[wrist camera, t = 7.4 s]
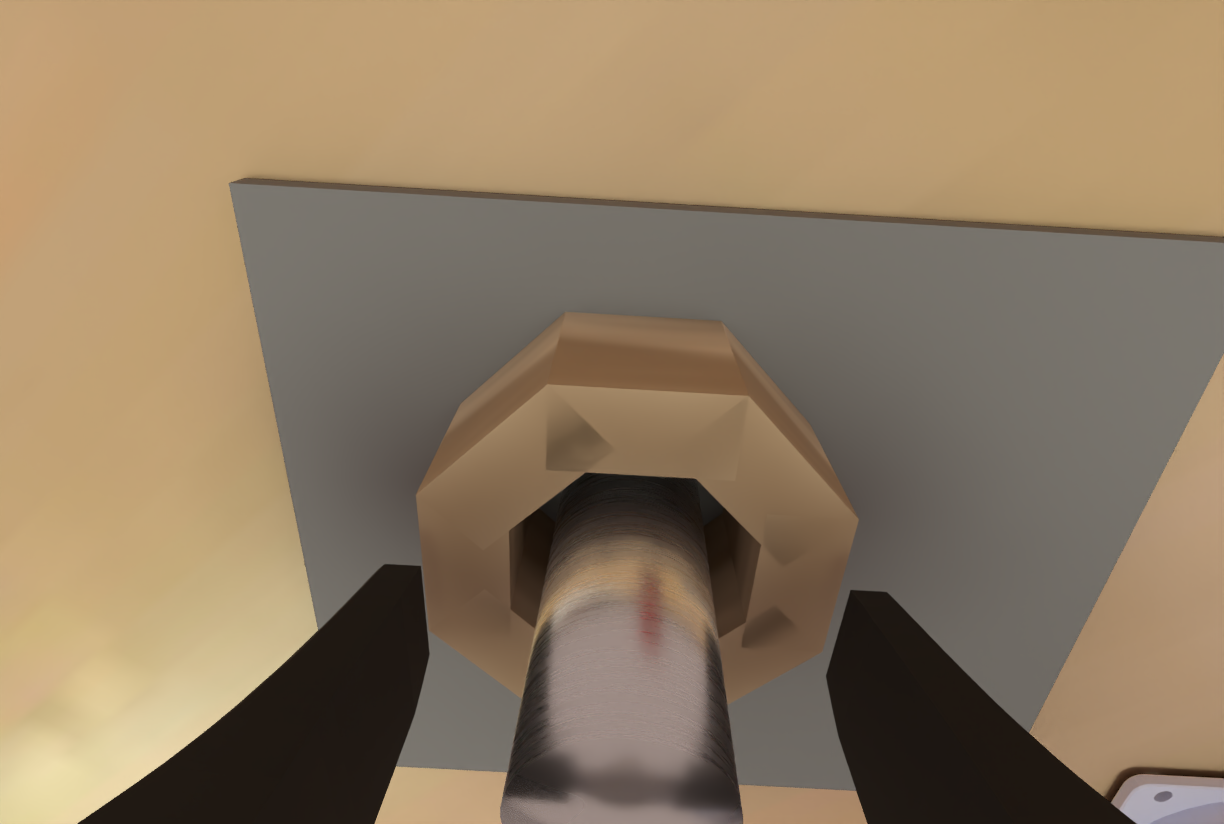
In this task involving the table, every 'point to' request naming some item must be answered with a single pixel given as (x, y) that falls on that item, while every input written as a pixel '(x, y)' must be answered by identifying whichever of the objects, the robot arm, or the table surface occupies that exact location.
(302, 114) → the table surface
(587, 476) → the steel peg
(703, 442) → the beech bead
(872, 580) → the charcoal mat
